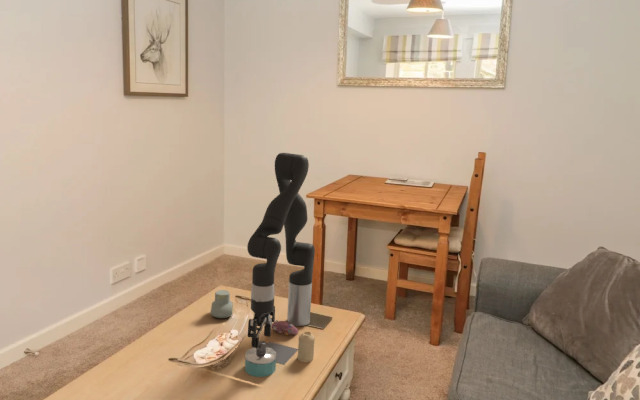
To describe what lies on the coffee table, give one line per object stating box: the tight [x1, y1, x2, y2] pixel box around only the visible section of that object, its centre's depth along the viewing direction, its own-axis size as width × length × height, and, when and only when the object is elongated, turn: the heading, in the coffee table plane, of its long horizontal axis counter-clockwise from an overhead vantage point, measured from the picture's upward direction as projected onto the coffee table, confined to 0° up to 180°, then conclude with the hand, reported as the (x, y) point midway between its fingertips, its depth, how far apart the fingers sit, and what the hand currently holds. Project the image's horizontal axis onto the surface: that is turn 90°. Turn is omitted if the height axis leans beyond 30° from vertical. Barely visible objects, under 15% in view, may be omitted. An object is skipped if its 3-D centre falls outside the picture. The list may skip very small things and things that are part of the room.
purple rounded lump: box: [271, 319, 299, 336], centre depth 200 cm, size 10×5×7 cm, turn 69°
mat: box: [266, 341, 298, 366], centre depth 185 cm, size 12×12×1 cm
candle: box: [297, 331, 315, 363], centre depth 181 cm, size 6×6×10 cm
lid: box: [244, 340, 277, 365], centre depth 173 cm, size 10×10×5 cm
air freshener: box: [210, 289, 234, 319], centre depth 212 cm, size 11×8×10 cm
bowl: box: [244, 357, 277, 378], centre depth 174 cm, size 10×10×5 cm
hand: (261, 341), depth 172 cm, fingers open, 8 cm apart
